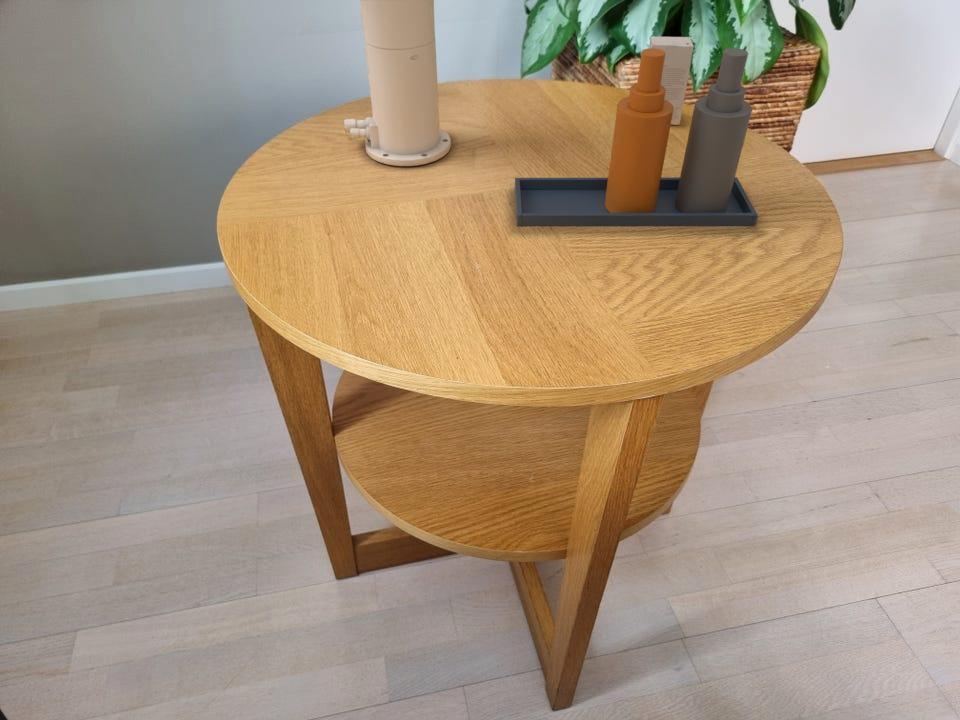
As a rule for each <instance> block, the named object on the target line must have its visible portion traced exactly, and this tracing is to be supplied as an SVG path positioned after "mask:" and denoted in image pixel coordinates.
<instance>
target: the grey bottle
mask: <svg viewBox="0 0 960 720" xmlns="http://www.w3.org/2000/svg"><path fill="white" fill-rule="evenodd" d="M748 56H749V52H748V51H747V50H745V49H742V48H737V47H727V48H725V49H724V50H723V52H722V56H721V62H720V66H719V71H718V75H717V80H716V82H713V83H711V84H710V85H709V87H708V92H707V95H705V96H702V97H699V98H698V99H696V101H695V102H694V107H693V110H692V116H691V121H690V126H689V131H688V136H687V141H686V147H685V152H684V155H683V161H682V166H681V171H680V175H679V177H680V180H679V185H678V190H677V195H676V200H675V206H676V208H677V209H678V210H679V211H680V212H682V213H725V212H726V209H727V205H728V201H729V198H730V194H731V190H732V186H733V182H734V178H735V177H736V174H737V170H738V166H739V163H740V159H741V154H742V151H743V147H744V144H745V140H746V136H747V132H748V128H749V124H750V120H751V116H752V113H753V106H752V105H751V104H750V103H749V102H747V101H745V100H744V99H745V95H746V92H747V89H746V87H744V86H743V85H742V81H743V77H744V72H745V68H746V64H747V60H748Z"/></svg>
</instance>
